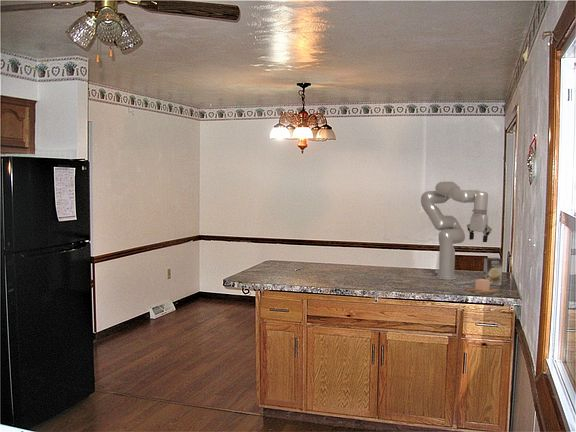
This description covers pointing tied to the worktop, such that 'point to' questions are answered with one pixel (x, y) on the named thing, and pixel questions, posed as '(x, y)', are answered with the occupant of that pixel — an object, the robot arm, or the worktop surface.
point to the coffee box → (493, 270)
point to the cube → (482, 284)
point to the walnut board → (487, 292)
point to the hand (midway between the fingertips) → (478, 240)
